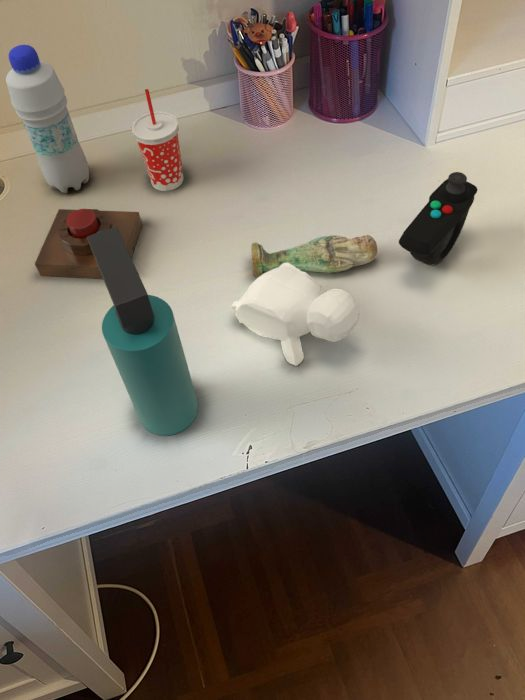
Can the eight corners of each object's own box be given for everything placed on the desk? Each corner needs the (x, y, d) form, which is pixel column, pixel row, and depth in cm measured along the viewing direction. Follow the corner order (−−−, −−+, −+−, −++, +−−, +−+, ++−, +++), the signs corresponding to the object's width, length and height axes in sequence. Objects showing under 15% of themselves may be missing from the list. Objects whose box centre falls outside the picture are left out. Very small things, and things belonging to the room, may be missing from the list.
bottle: (102, 183, 93) (57, 48, 77) (60, 204, 91) (4, 70, 75) (80, 160, 97) (33, 26, 81) (39, 180, 95) (-18, 47, 78)
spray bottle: (206, 421, 69) (173, 296, 53) (149, 445, 68) (97, 324, 52) (172, 345, 75) (133, 213, 59) (119, 365, 74) (64, 236, 58)
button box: (40, 275, 83) (29, 253, 80) (63, 221, 89) (54, 198, 86) (124, 279, 82) (116, 257, 79) (142, 224, 88) (135, 201, 84)
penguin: (242, 350, 78) (341, 381, 68) (213, 295, 73) (317, 320, 63) (285, 304, 82) (386, 328, 71) (261, 249, 76) (366, 266, 66)
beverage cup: (140, 175, 94) (115, 85, 83) (179, 161, 95) (161, 71, 84) (154, 200, 90) (130, 110, 79) (195, 185, 92) (178, 95, 80)
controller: (470, 235, 82) (486, 170, 74) (420, 297, 77) (432, 234, 69) (439, 222, 84) (452, 157, 76) (389, 281, 79) (396, 219, 71)
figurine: (254, 247, 84) (252, 225, 81) (375, 247, 82) (377, 224, 79) (251, 279, 80) (248, 257, 77) (377, 279, 79) (379, 257, 76)
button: (67, 238, 82) (62, 228, 80) (75, 218, 84) (71, 208, 82) (94, 239, 81) (90, 229, 80) (102, 219, 83) (98, 209, 82)
